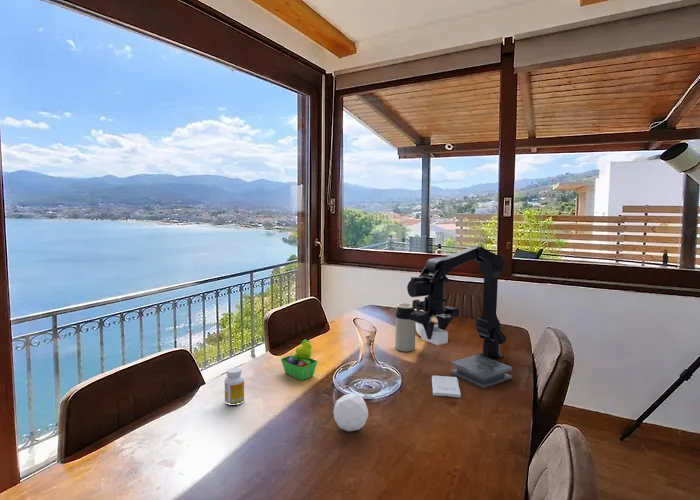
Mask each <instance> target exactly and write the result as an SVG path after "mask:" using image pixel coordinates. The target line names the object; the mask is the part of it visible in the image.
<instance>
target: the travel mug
mask: <svg viewBox="0 0 700 500" xmlns="http://www.w3.org/2000/svg"><path fill="white" fill-rule="evenodd" d="M396 308H397V310H396V312H395V334H394V335H395V338H394V339H395V340H394V341H395V342H394V343H395V344H394V348H395V350H398V352H399V351H400V352H404V353H405V352H406V353H407V352H413V351H414V350H416V322H415V321H412V320H411V313H412V312H416V311H415V309H413V306H412V303H409V302H401V303H397V304H396Z"/></svg>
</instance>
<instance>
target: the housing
mask: <svg viewBox="0 0 700 500" xmlns="http://www.w3.org/2000/svg"><path fill="white" fill-rule="evenodd" d="M420 339H421V340H423V341H426V342H428V343H431V344H434V345H435V346H440V345H444V344H448V342H449V341H448V340H449V331H448V330H446V329H445V330H442V329H439V327H438V326H434V328H433V332H432V336H431V339H430V340H429V339H428V338H427V335H426V332H425V329H424V328H422V330H421V337H420Z"/></svg>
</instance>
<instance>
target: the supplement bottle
mask: <svg viewBox="0 0 700 500" xmlns="http://www.w3.org/2000/svg"><path fill="white" fill-rule="evenodd" d="M242 401H244V402H245V377H244V376H243V375H242V368H240V367H230V368H228V369H227V370H226V377H225V379H224V402H227V403H230V404H237V403H241V402H242Z"/></svg>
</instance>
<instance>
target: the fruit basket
mask: <svg viewBox="0 0 700 500" xmlns="http://www.w3.org/2000/svg"><path fill="white" fill-rule="evenodd" d="M312 346H313V345H312V343H311V341H310V340H307V339H304V340H302V341H301V343H300V344H299V345H297V347H296V348H295V350H294V351H295V352H296V353H295V354H291V355H287V356H285V357H282V358H281V359H280V361H281V364H282V367H283V371H284V373H285V372H286V373H288V374H287V375H289V374H290V375H289V376H291V375H292V376H291V377H294V378H295V377H296V378H295V379H298V380H299V381H304V380H306V379H308V378H311V377H314V374H315V369H316V367H317V364H318V360H315V359H313V358H311V356H312V348H313V347H312ZM286 373H285V374H286Z"/></svg>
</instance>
